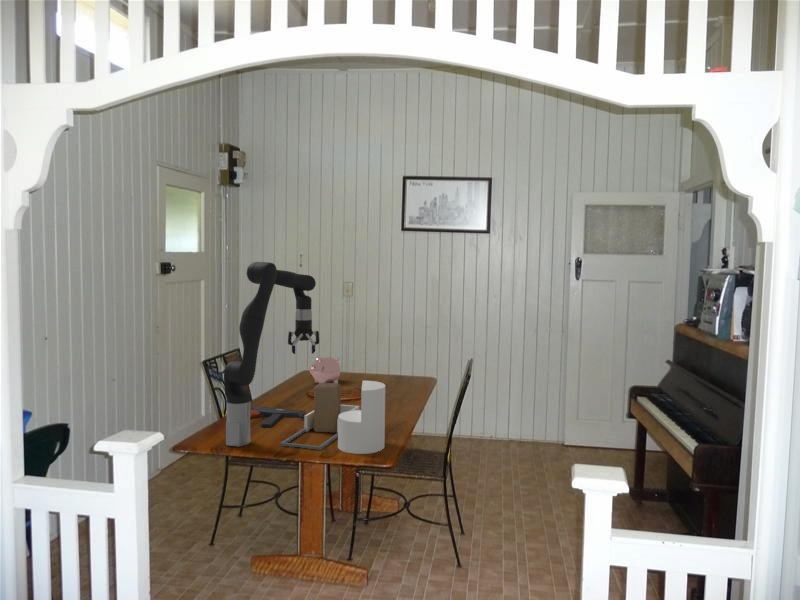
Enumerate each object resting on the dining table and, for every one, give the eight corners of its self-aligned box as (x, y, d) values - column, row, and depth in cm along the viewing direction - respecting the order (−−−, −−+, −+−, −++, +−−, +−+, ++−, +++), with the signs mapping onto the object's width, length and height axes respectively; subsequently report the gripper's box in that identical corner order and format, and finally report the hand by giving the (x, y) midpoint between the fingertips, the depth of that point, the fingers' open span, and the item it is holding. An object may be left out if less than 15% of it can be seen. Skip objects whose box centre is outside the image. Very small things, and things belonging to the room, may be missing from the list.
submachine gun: (226, 418, 291) (255, 405, 315) (226, 424, 292) (255, 411, 315) (290, 425, 282) (315, 411, 306) (290, 431, 282) (315, 417, 306)
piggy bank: (306, 381, 383) (306, 355, 381) (335, 379, 390) (335, 353, 389) (314, 387, 369) (314, 359, 368) (344, 384, 376) (344, 357, 375)
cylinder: (386, 440, 270) (387, 381, 268) (382, 454, 252) (383, 391, 250) (341, 438, 272) (342, 379, 270) (334, 452, 253) (334, 389, 251)
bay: (320, 450, 256) (320, 447, 256) (280, 445, 261) (280, 442, 260) (340, 435, 276) (340, 432, 276) (303, 431, 281) (303, 428, 281)
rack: (339, 435, 276) (339, 419, 276) (304, 431, 281) (304, 415, 280) (359, 421, 299) (359, 406, 299) (326, 417, 304) (326, 403, 303)
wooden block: (340, 427, 289) (341, 382, 287) (336, 433, 279) (336, 387, 277) (318, 426, 290) (318, 381, 288) (313, 432, 280) (313, 386, 278)
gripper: (289, 319, 293) (289, 355, 295) (320, 319, 298) (320, 354, 299) (287, 318, 300) (286, 352, 302) (317, 317, 305) (317, 351, 306)
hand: (303, 353), depth 300 cm, fingers open, 8 cm apart
